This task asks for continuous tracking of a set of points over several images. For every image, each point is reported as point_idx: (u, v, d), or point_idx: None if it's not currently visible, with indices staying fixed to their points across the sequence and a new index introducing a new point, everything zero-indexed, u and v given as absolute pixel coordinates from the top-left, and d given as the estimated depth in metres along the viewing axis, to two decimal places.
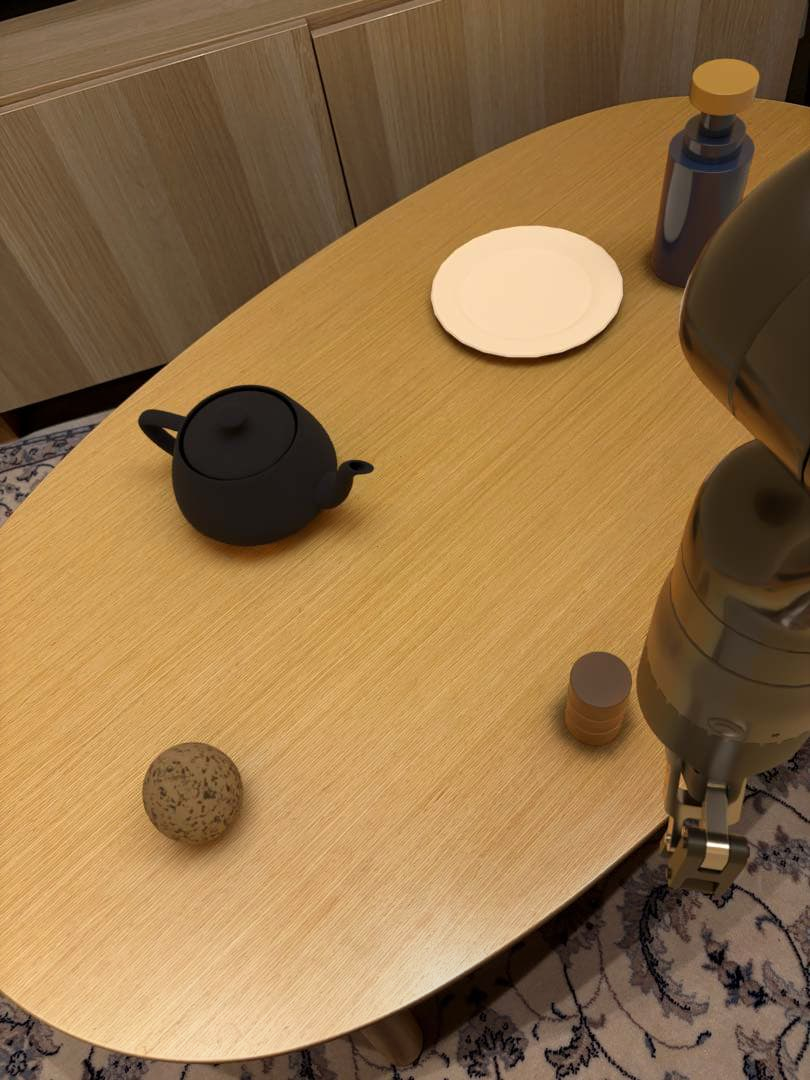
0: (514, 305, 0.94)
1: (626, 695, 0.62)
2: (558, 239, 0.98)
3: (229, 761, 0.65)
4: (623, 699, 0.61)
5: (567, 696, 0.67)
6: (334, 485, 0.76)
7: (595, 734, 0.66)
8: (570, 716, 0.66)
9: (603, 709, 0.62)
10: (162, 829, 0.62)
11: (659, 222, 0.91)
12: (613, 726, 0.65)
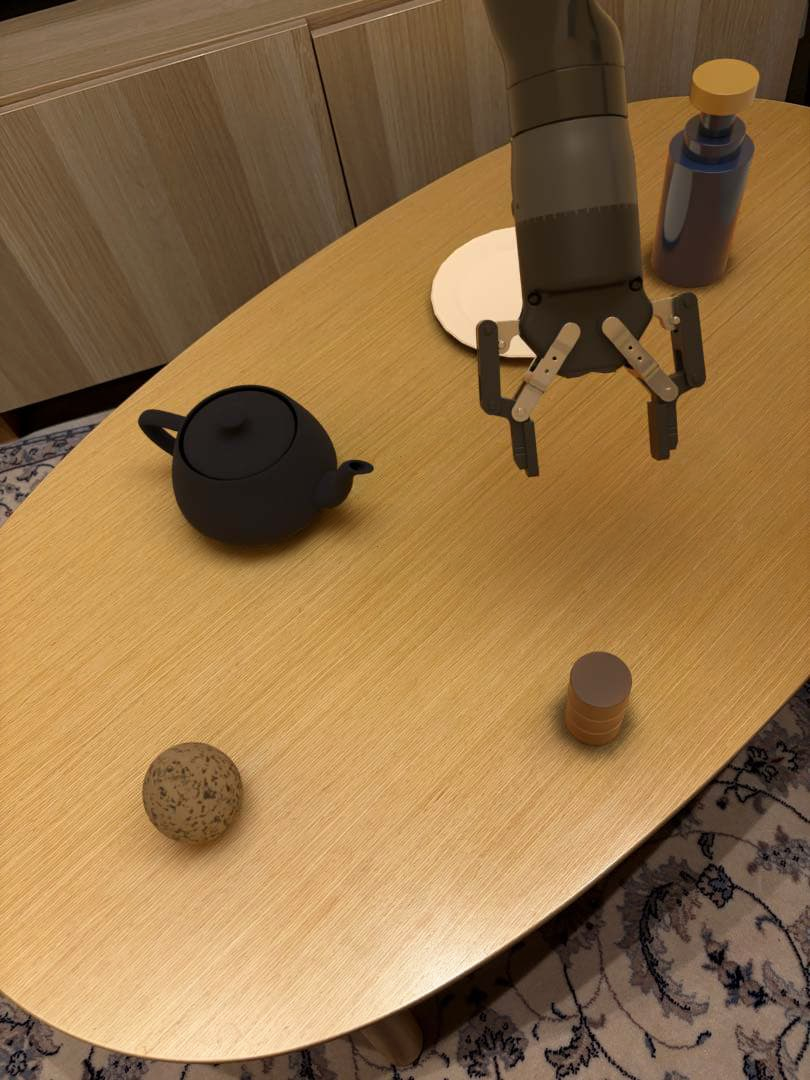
0: (514, 305, 0.94)
1: (626, 695, 0.62)
2: None
3: (229, 761, 0.65)
4: (623, 699, 0.61)
5: (567, 696, 0.67)
6: (334, 485, 0.76)
7: (595, 734, 0.66)
8: (570, 716, 0.66)
9: (603, 709, 0.62)
10: (162, 829, 0.62)
11: (659, 222, 0.91)
12: (613, 726, 0.65)
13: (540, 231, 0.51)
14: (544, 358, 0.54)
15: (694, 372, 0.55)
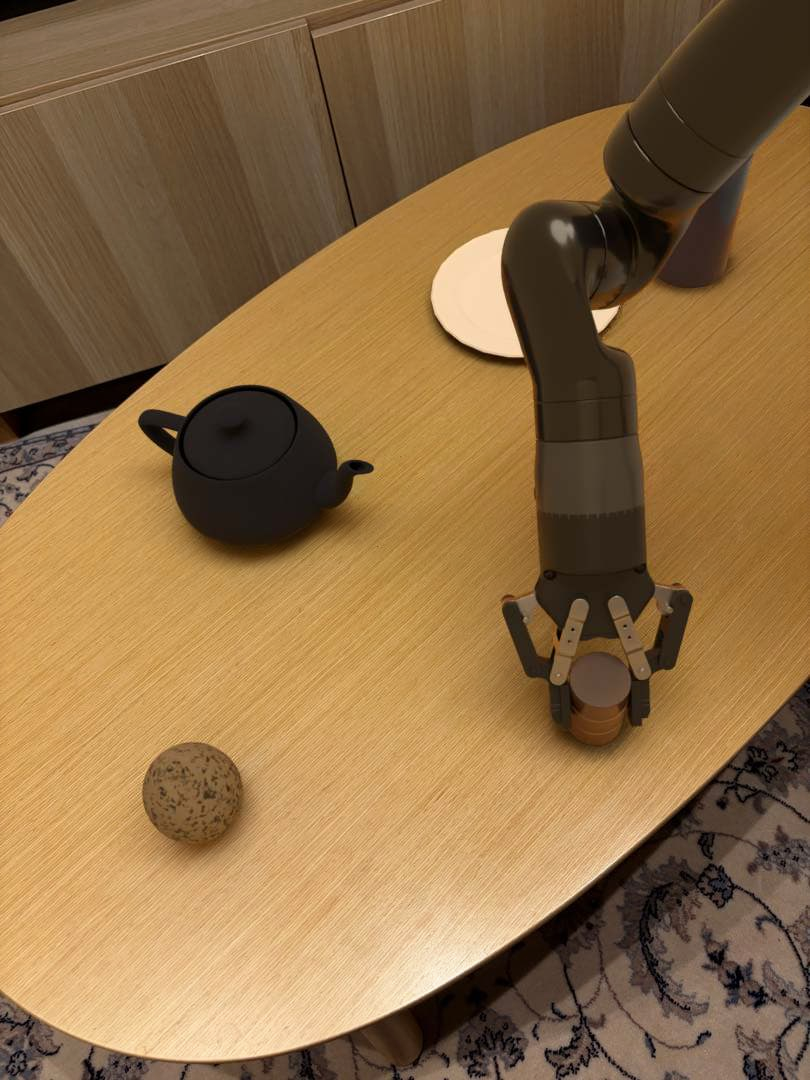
0: None
1: (625, 695, 0.62)
2: None
3: (229, 761, 0.65)
4: (622, 699, 0.61)
5: None
6: (334, 485, 0.76)
7: (595, 734, 0.66)
8: None
9: (602, 709, 0.62)
10: (162, 829, 0.62)
11: None
12: (613, 726, 0.65)
13: (556, 525, 0.59)
14: (564, 632, 0.62)
15: (668, 656, 0.62)
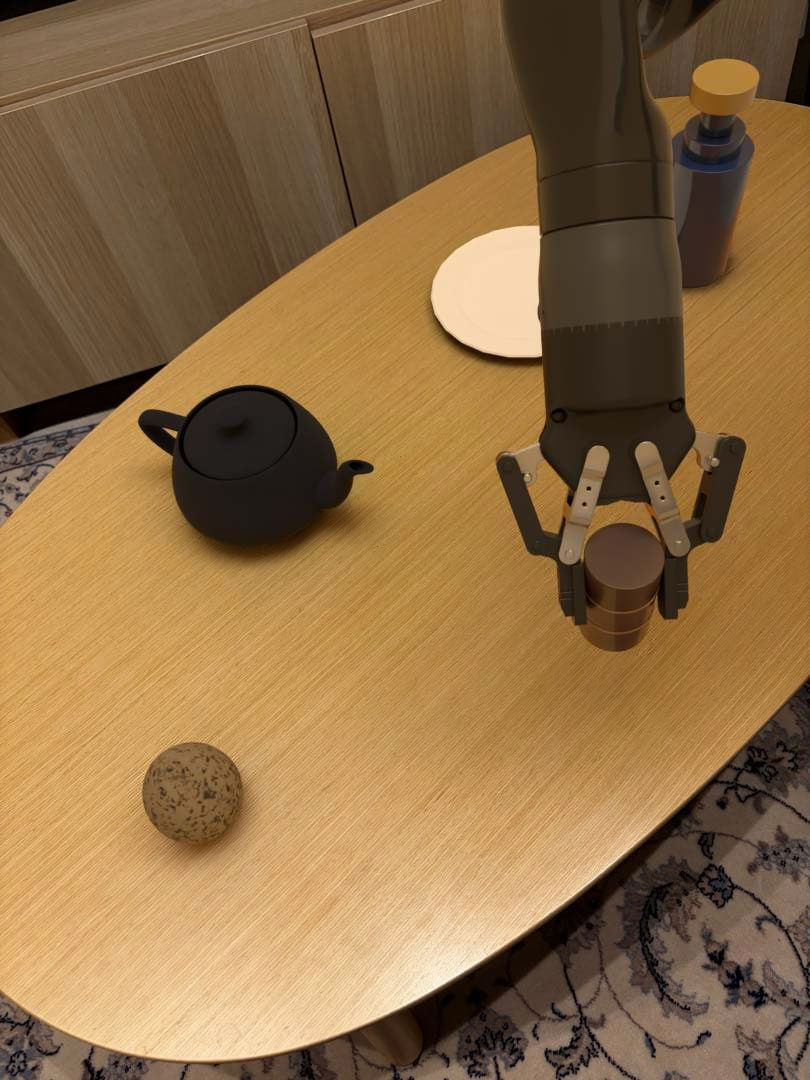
0: (514, 305, 0.94)
1: (657, 574, 0.47)
2: None
3: (229, 761, 0.65)
4: (653, 579, 0.47)
5: None
6: (334, 485, 0.76)
7: (617, 634, 0.51)
8: None
9: (627, 593, 0.47)
10: (162, 829, 0.62)
11: None
12: (639, 622, 0.51)
13: (567, 343, 0.45)
14: (577, 491, 0.47)
15: (712, 525, 0.48)
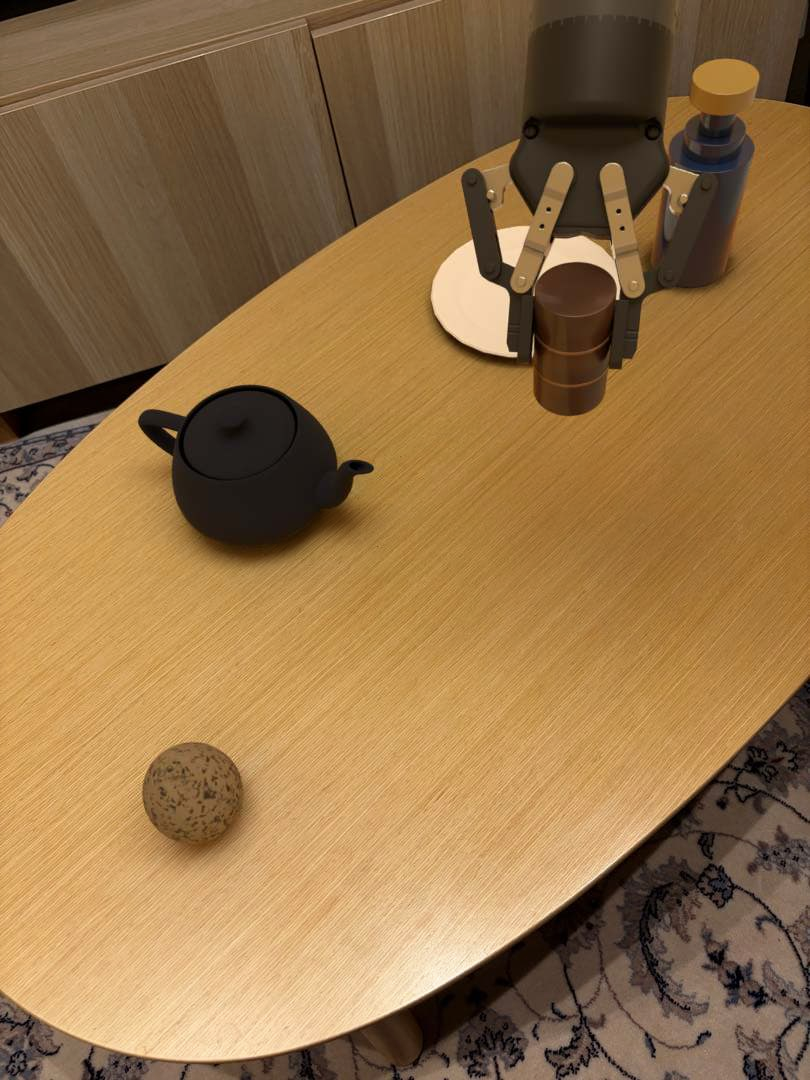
0: None
1: (603, 307, 0.46)
2: (558, 239, 0.98)
3: (229, 761, 0.65)
4: (598, 311, 0.46)
5: None
6: (334, 485, 0.76)
7: (563, 386, 0.50)
8: (535, 362, 0.51)
9: (569, 322, 0.46)
10: (162, 829, 0.62)
11: (659, 222, 0.91)
12: (586, 375, 0.50)
13: (545, 42, 0.44)
14: (536, 211, 0.46)
15: (671, 267, 0.46)
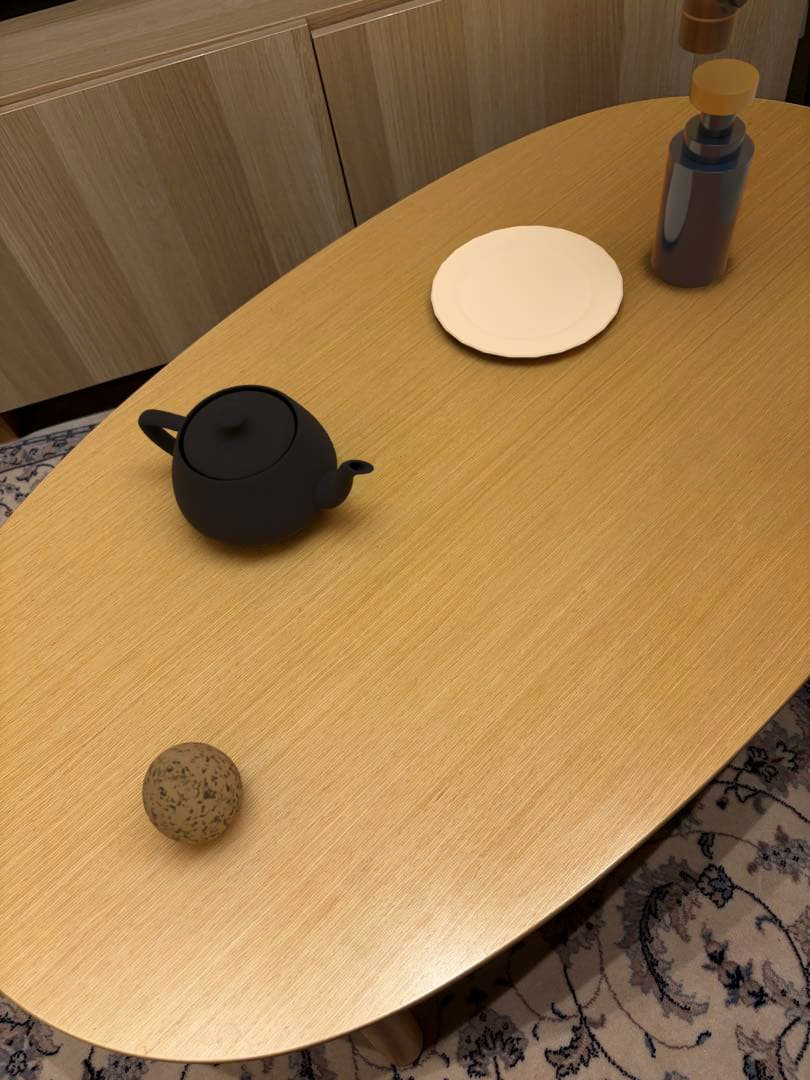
0: (514, 305, 0.94)
1: None
2: (558, 239, 0.98)
3: (229, 761, 0.65)
4: None
5: None
6: (334, 485, 0.76)
7: (689, 17, 0.70)
8: None
9: None
10: (162, 829, 0.62)
11: (659, 222, 0.91)
12: (706, 11, 0.69)
13: None
14: None
15: None
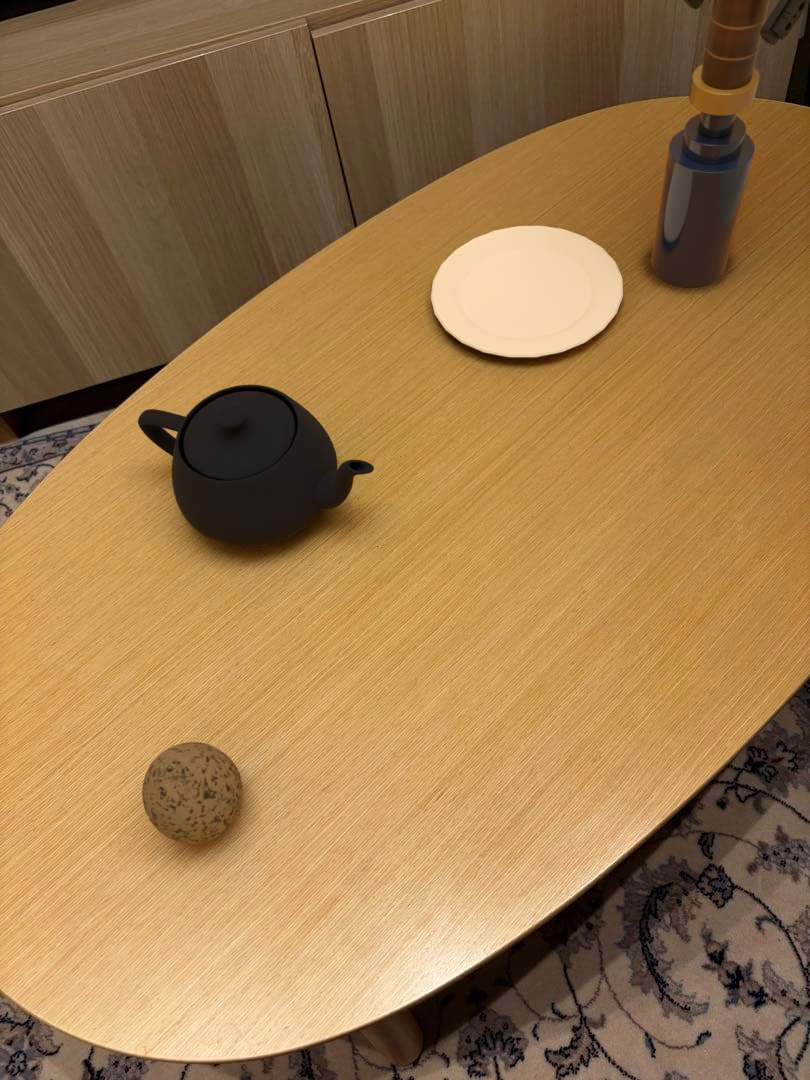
0: (514, 305, 0.94)
1: None
2: (558, 239, 0.98)
3: (229, 761, 0.65)
4: None
5: None
6: (334, 485, 0.76)
7: (711, 55, 0.76)
8: None
9: None
10: (162, 829, 0.62)
11: (659, 222, 0.91)
12: (727, 51, 0.74)
13: None
14: None
15: None
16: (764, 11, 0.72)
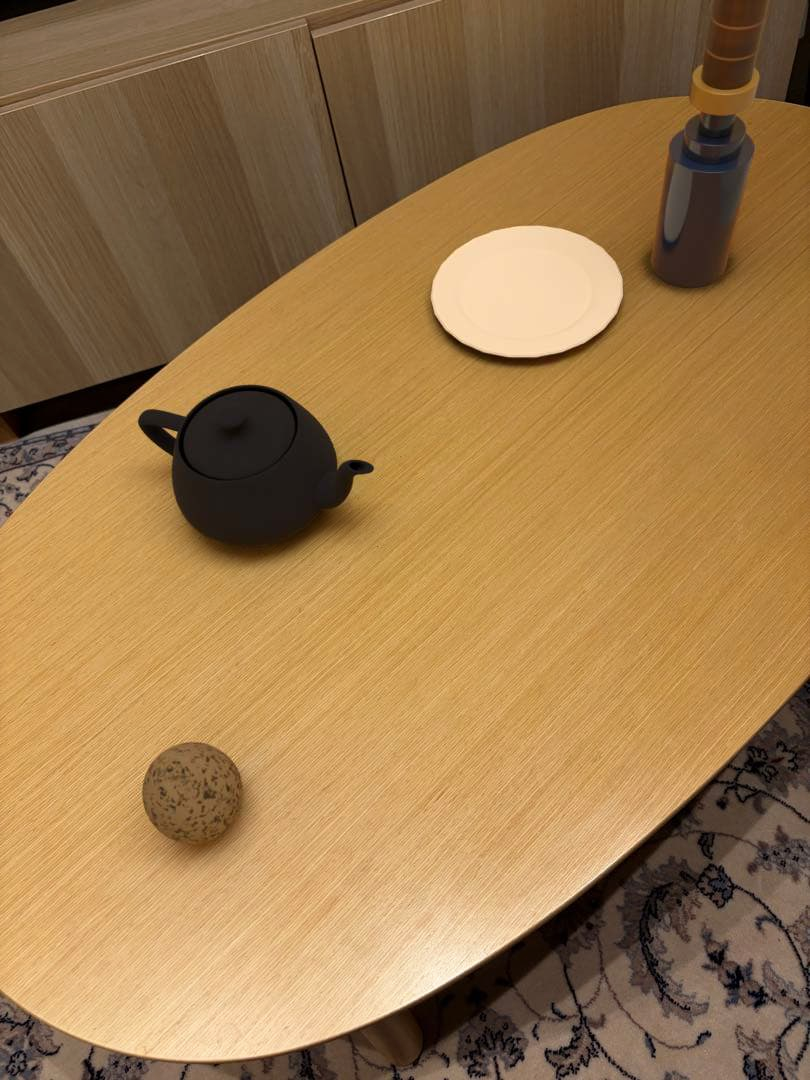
0: (514, 305, 0.94)
1: None
2: (558, 239, 0.98)
3: (229, 761, 0.65)
4: None
5: None
6: (334, 485, 0.76)
7: (711, 55, 0.76)
8: None
9: None
10: (162, 829, 0.62)
11: (659, 222, 0.91)
12: (727, 51, 0.74)
13: None
14: None
15: None
16: (764, 11, 0.72)
